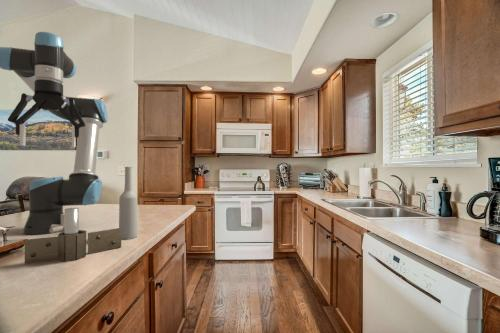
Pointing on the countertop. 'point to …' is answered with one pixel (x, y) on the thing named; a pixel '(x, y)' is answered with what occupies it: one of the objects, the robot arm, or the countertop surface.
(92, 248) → the loose leaf
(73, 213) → the hinge pin
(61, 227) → the pipe connector
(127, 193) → the bottle
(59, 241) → the knuckle and fixed leaf
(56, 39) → the robot arm
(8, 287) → the countertop surface
